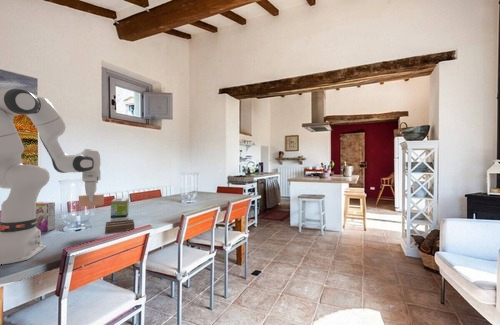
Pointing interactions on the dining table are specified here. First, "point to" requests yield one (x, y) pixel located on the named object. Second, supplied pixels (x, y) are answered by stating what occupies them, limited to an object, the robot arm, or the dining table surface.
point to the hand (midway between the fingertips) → (91, 201)
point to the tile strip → (96, 201)
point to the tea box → (119, 209)
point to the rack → (119, 225)
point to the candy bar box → (45, 215)
